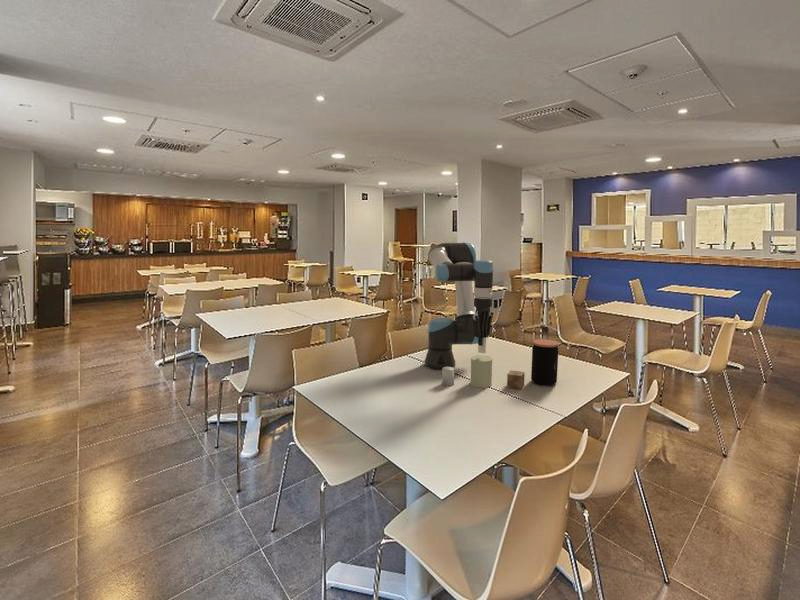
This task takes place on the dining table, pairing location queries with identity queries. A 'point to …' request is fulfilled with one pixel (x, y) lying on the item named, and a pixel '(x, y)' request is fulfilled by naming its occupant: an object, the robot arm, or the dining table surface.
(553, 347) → the coffee jar
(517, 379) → the walnut block
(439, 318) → the robot arm
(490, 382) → the can
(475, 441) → the dining table surface
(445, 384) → the grey cylinder
